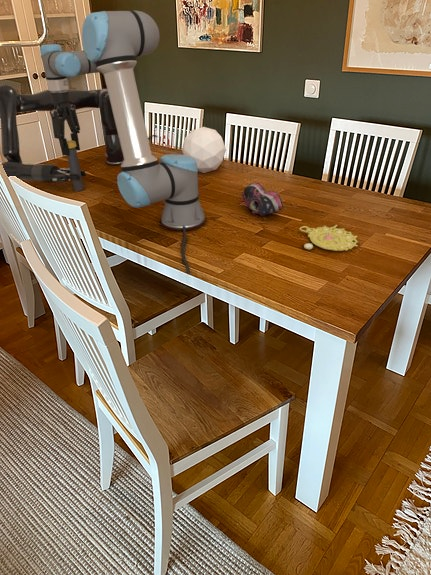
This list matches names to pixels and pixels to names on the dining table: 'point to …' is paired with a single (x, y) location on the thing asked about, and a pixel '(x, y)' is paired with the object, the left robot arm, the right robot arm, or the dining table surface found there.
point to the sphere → (204, 148)
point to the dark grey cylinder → (75, 169)
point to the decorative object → (330, 238)
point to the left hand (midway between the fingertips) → (82, 175)
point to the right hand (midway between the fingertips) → (71, 152)
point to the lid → (71, 144)
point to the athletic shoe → (261, 200)
